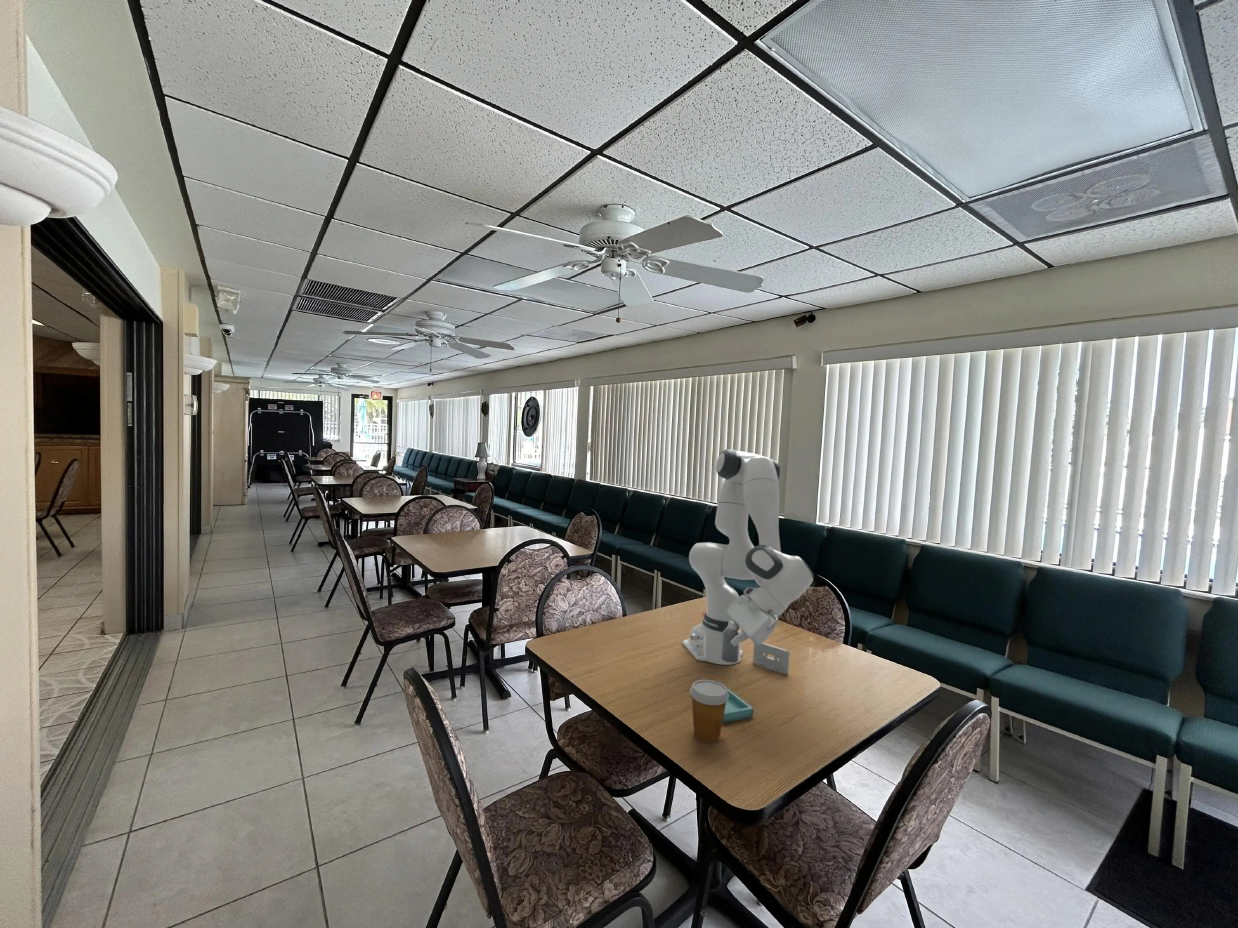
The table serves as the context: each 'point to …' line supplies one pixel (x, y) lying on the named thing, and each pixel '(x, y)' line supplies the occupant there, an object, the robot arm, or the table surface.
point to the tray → (736, 709)
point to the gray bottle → (729, 644)
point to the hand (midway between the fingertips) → (728, 639)
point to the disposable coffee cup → (708, 709)
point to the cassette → (768, 662)
